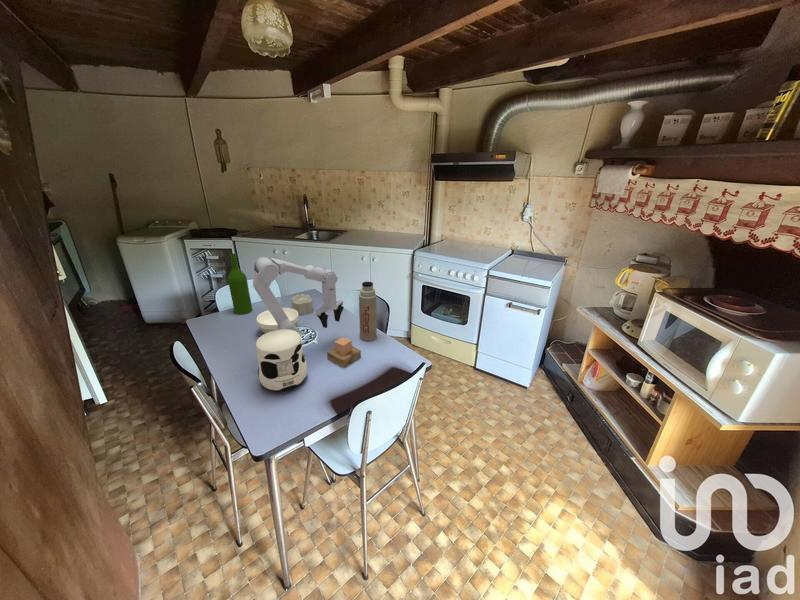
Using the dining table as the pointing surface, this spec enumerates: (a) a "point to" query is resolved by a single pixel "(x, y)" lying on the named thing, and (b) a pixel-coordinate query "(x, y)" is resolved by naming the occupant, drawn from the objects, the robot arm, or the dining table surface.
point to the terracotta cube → (343, 346)
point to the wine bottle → (239, 288)
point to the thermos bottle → (367, 312)
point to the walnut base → (344, 357)
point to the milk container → (281, 360)
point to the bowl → (269, 323)
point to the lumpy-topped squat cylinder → (302, 304)
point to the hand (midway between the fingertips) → (331, 324)
